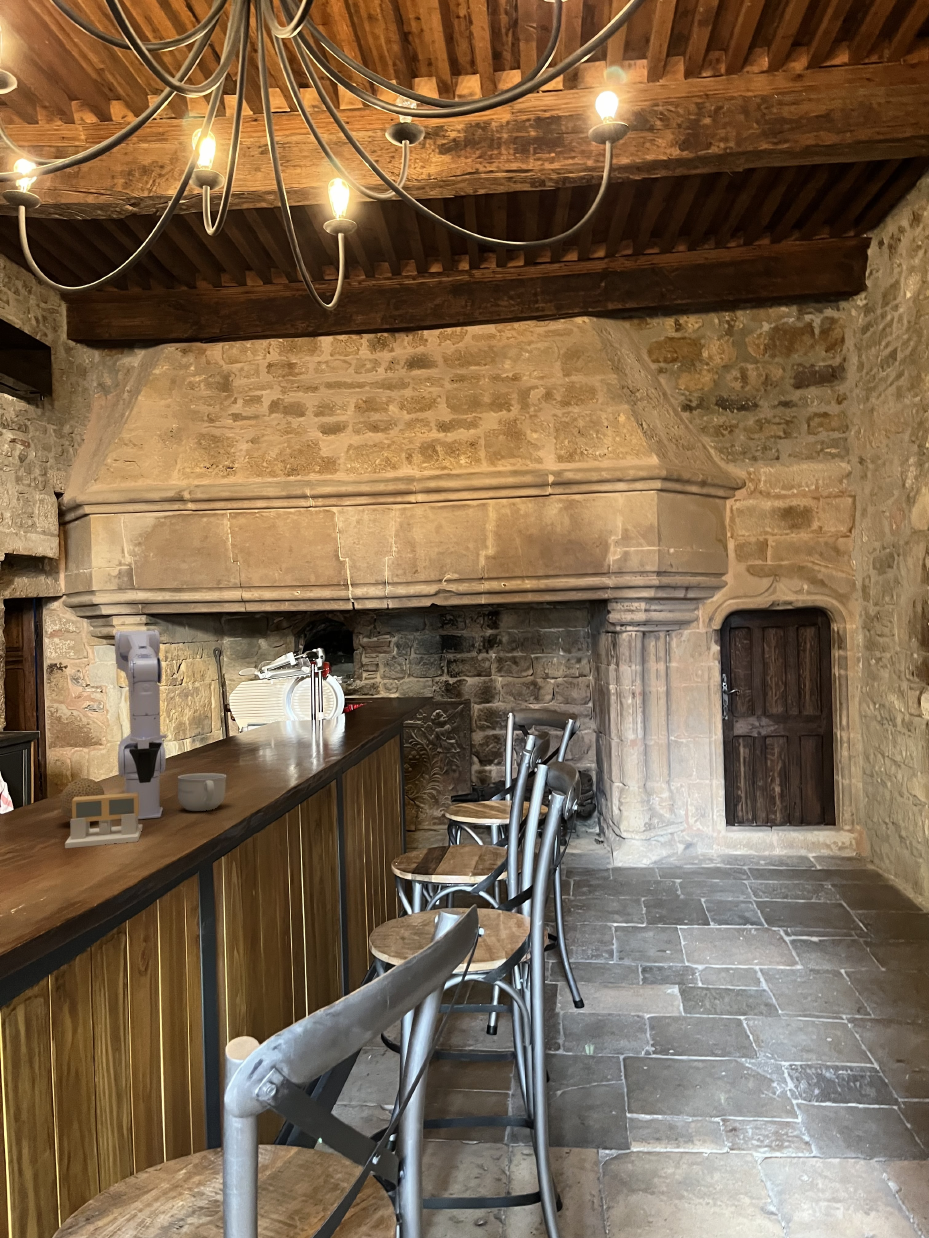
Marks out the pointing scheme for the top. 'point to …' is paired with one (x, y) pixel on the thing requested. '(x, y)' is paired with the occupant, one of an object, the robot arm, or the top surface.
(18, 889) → the top surface
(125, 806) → the wooden block with panels
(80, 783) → the natural sponge
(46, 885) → the top surface
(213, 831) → the top surface
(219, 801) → the teacup
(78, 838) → the display stand
